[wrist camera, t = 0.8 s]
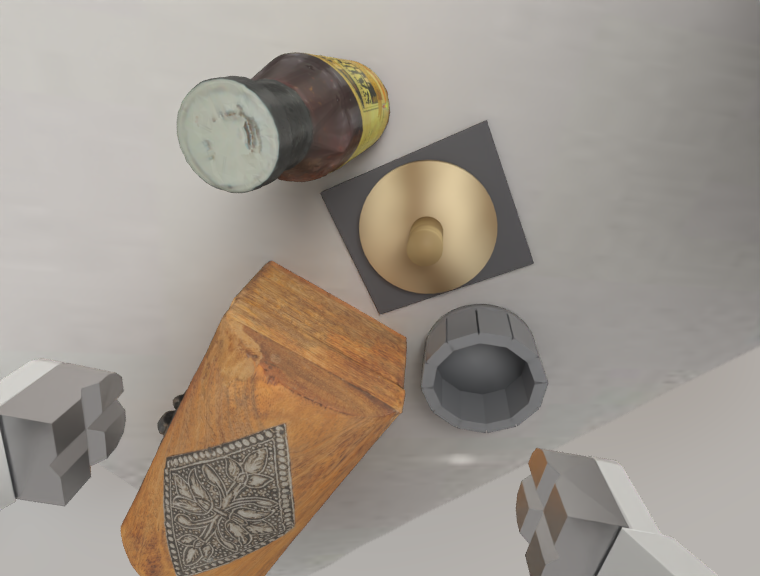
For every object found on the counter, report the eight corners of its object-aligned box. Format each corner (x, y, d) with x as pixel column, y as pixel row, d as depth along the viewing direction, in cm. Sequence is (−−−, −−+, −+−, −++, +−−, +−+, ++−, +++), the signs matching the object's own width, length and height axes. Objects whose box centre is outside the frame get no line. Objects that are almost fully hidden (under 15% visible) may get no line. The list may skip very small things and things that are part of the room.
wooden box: (263, 248, 40) (180, 327, 28) (417, 339, 42) (404, 451, 30) (164, 445, 53) (78, 558, 41) (285, 508, 55) (238, 634, 43)
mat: (486, 120, 33) (486, 120, 32) (533, 261, 37) (533, 263, 37) (321, 192, 37) (320, 193, 36) (380, 312, 41) (379, 314, 41)
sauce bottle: (405, 82, 32) (354, 93, 15) (373, 162, 35) (298, 253, 18) (322, 43, 32) (168, 8, 14) (296, 128, 35) (140, 185, 17)
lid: (469, 135, 33) (472, 145, 29) (514, 264, 37) (523, 290, 32) (339, 191, 36) (324, 208, 32) (392, 304, 40) (385, 333, 36)
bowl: (516, 289, 38) (525, 318, 34) (548, 379, 42) (560, 416, 37) (408, 323, 41) (404, 354, 37) (447, 405, 45) (447, 442, 40)
